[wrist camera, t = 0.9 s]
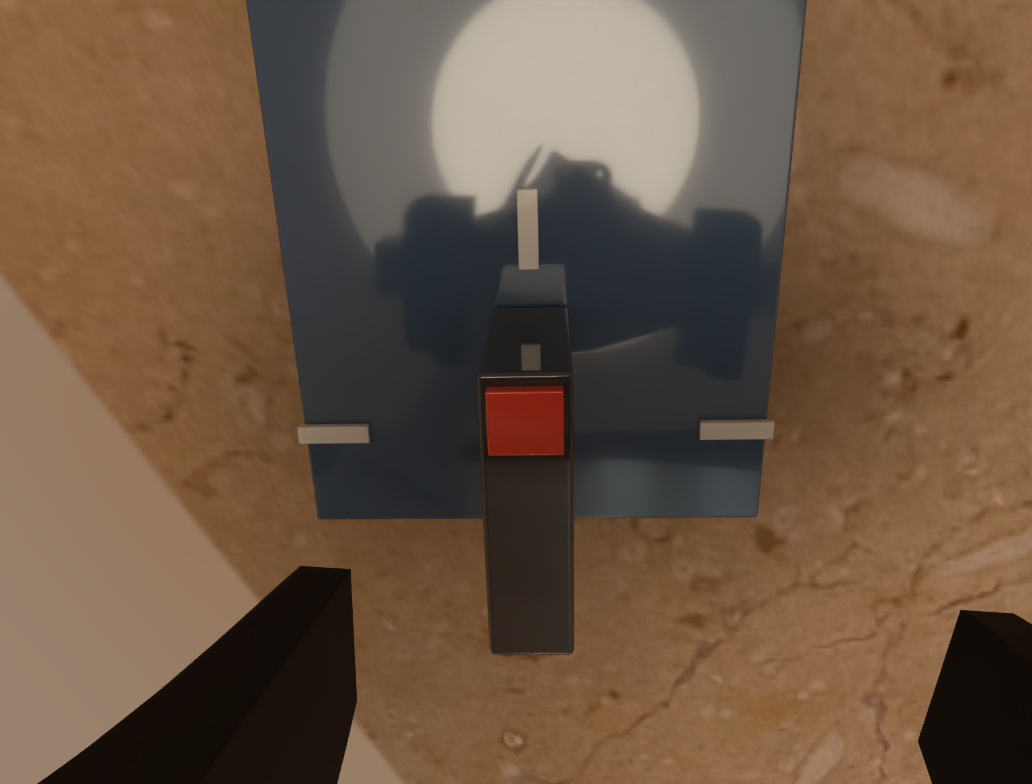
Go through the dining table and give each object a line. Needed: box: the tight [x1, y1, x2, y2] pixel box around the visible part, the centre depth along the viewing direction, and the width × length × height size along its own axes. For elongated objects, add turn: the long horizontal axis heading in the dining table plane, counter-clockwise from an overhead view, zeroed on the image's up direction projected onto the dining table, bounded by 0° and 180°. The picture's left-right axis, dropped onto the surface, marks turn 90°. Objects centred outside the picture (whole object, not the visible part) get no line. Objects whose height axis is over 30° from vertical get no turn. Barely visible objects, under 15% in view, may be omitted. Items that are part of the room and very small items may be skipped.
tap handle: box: [476, 307, 574, 655], centre depth 14 cm, size 5×1×4 cm, turn 2°
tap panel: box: [246, 0, 807, 519], centre depth 15 cm, size 17×9×3 cm, turn 2°
